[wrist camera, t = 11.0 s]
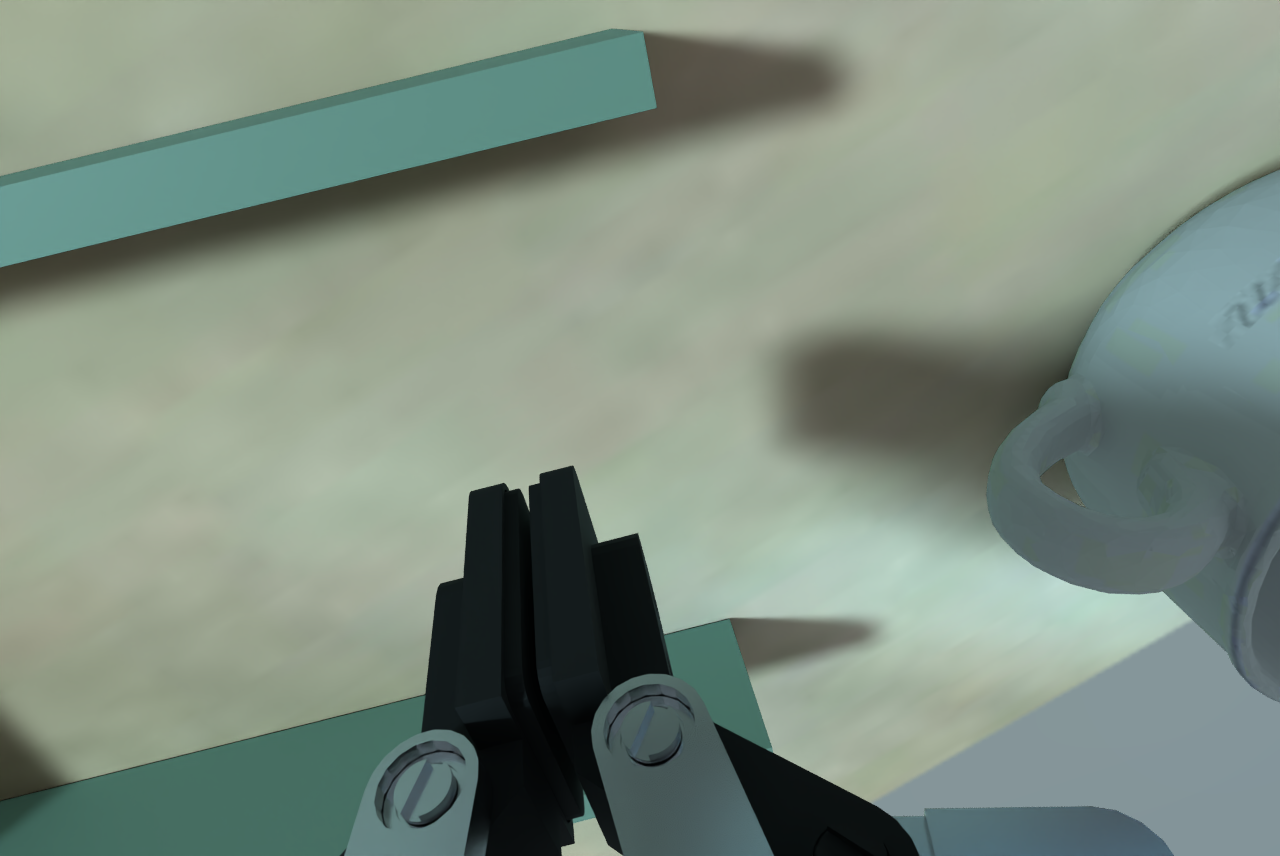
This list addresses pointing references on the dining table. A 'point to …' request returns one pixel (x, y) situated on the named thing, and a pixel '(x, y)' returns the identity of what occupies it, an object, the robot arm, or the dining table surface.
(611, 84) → the green u-shaped border
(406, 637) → the dining table surface
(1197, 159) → the dining table surface
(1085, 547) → the teacup
